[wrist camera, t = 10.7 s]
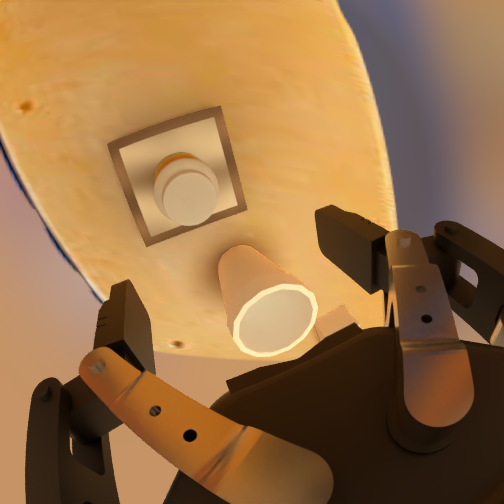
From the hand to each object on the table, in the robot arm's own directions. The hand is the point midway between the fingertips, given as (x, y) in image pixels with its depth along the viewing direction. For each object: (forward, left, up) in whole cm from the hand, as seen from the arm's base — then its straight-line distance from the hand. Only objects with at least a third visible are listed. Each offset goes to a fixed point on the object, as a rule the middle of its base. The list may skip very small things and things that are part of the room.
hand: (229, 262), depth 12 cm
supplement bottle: (0, 0, -20) cm, 20 cm away
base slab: (0, 0, -24) cm, 24 cm away
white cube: (+34, +17, -24) cm, 45 cm away
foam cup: (+15, +4, -24) cm, 29 cm away
